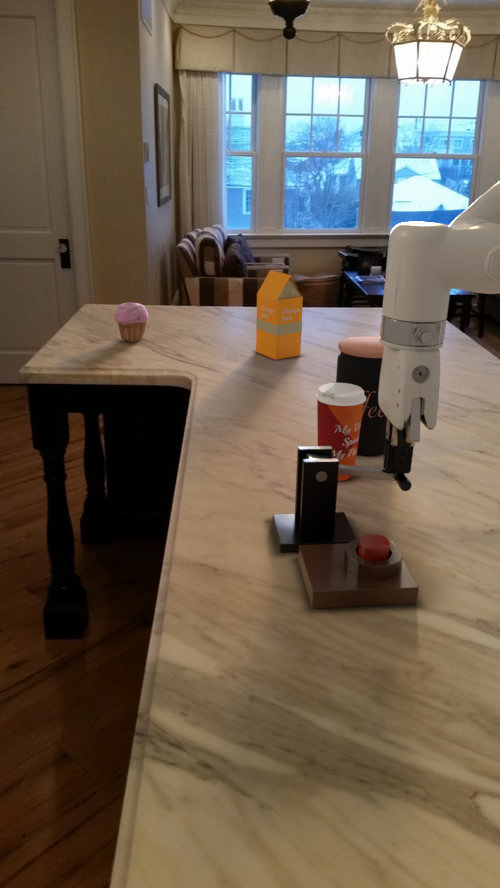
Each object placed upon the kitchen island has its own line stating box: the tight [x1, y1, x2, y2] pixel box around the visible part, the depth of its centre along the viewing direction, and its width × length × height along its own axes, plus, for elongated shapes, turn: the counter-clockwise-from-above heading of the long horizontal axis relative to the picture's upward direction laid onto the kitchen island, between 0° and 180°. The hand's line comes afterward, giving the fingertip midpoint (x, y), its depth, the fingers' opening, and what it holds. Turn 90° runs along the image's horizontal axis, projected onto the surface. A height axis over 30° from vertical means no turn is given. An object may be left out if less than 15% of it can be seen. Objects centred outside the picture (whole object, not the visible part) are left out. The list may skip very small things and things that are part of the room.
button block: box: [297, 537, 420, 609], centre depth 83 cm, size 12×10×4 cm
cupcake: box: [113, 301, 149, 343], centre depth 185 cm, size 9×9×10 cm
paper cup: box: [314, 382, 366, 482], centre depth 109 cm, size 8×8×14 cm
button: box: [358, 533, 391, 561], centre depth 82 cm, size 4×4×2 cm
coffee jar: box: [335, 335, 390, 457], centre depth 119 cm, size 11×11×18 cm
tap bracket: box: [272, 445, 357, 553], centre depth 91 cm, size 10×8×12 cm
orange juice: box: [255, 269, 304, 361], centre depth 173 cm, size 8×9×20 cm
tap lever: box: [306, 454, 413, 492], centre depth 90 cm, size 13×6×2 cm, turn 96°
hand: (396, 470), depth 91 cm, fingers closed
